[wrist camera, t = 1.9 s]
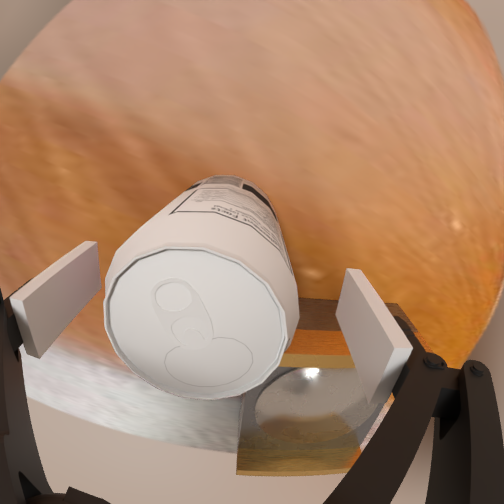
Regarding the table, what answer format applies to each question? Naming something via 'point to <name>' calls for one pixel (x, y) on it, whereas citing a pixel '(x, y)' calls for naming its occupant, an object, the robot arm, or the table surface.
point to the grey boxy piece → (309, 402)
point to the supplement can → (204, 293)
